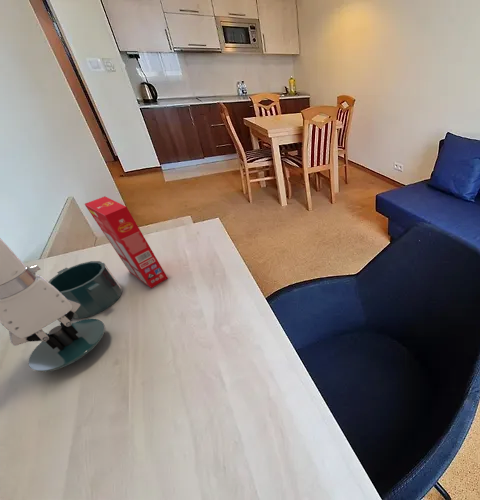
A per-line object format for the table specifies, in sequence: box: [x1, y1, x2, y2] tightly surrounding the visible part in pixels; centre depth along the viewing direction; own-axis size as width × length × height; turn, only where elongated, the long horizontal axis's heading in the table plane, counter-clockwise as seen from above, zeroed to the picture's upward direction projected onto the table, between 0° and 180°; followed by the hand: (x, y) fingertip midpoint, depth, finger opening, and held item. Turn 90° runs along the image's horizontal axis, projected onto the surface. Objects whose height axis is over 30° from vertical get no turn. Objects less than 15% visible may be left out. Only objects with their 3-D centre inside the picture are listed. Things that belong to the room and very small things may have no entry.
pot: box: [48, 260, 123, 320], centre depth 86 cm, size 14×19×10 cm
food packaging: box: [84, 195, 169, 289], centre depth 89 cm, size 15×5×25 cm, turn 54°
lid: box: [28, 318, 106, 373], centre depth 70 cm, size 15×15×6 cm
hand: (67, 341), depth 71 cm, fingers closed on lid, 2 cm apart
